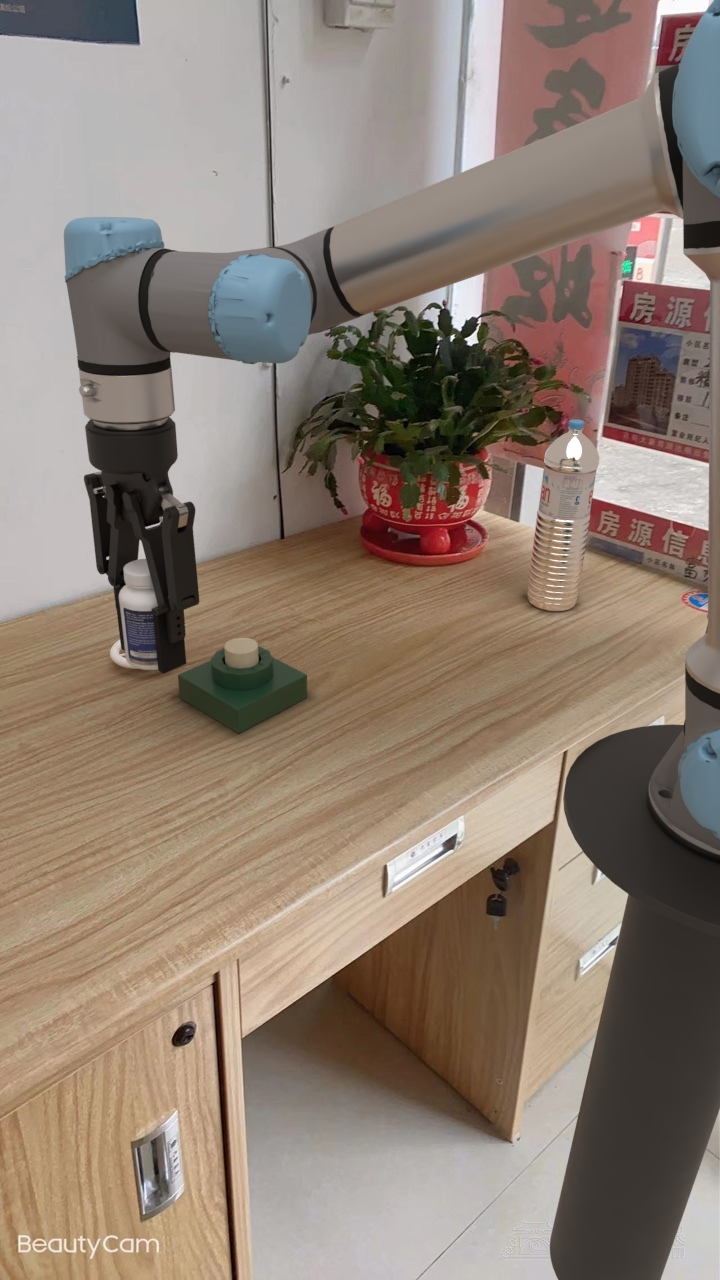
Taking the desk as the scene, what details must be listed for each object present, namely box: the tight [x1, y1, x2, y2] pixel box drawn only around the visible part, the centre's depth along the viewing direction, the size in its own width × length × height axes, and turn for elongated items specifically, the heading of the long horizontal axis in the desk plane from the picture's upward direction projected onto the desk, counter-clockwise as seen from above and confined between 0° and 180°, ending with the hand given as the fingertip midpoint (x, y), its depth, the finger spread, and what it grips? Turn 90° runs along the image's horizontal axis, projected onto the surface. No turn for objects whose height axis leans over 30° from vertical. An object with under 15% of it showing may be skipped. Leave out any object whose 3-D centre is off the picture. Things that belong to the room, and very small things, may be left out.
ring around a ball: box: [109, 639, 139, 670], centre depth 103 cm, size 8×6×8 cm
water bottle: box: [526, 418, 600, 612], centre depth 116 cm, size 7×7×25 cm
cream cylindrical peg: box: [223, 637, 259, 669], centre depth 95 cm, size 4×4×2 cm
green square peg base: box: [177, 645, 308, 734], centre depth 97 cm, size 10×10×5 cm
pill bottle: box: [119, 558, 169, 671], centre depth 84 cm, size 5×5×10 cm
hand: (153, 655), depth 86 cm, fingers closed on pill bottle, 5 cm apart
